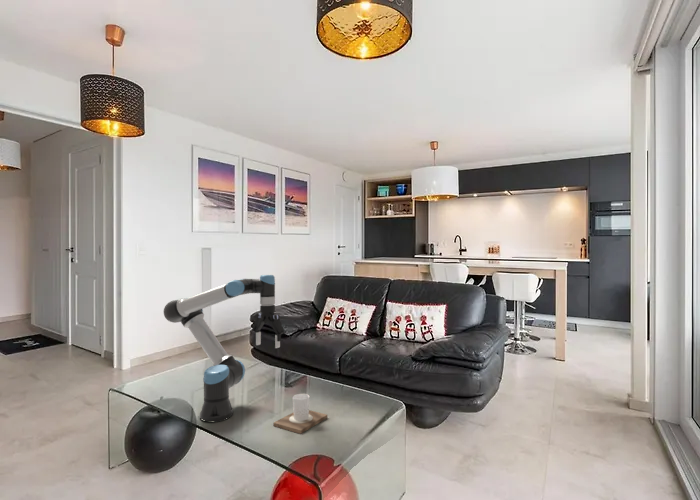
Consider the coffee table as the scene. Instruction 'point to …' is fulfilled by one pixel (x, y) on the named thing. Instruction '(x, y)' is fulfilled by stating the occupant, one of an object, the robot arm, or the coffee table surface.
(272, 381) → the coffee table surface
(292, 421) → the serving board
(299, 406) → the white cup
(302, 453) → the coffee table surface
